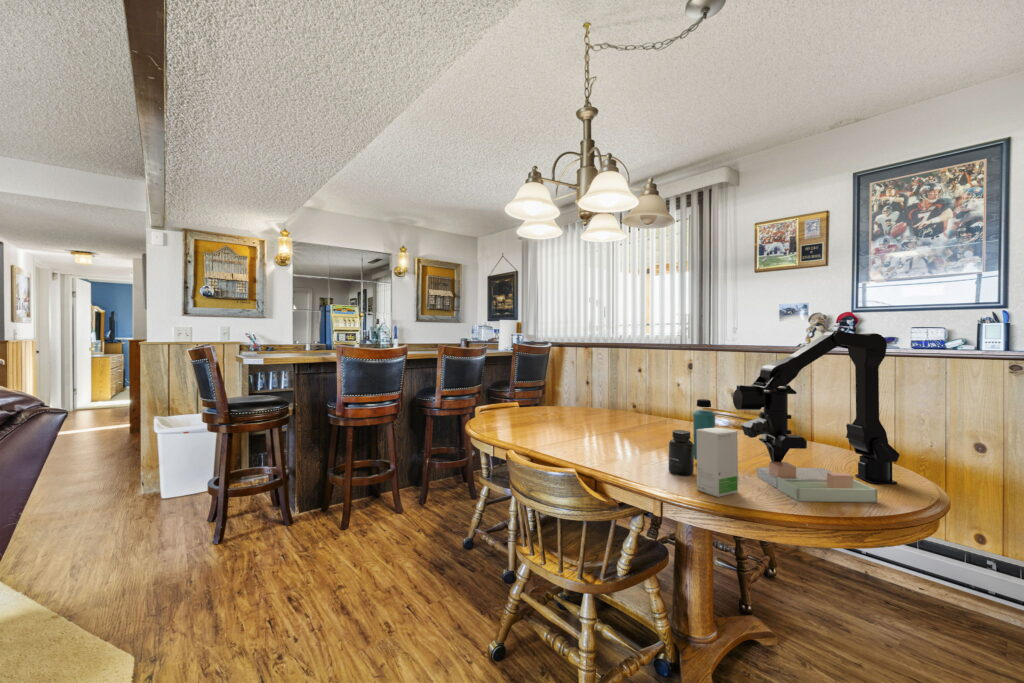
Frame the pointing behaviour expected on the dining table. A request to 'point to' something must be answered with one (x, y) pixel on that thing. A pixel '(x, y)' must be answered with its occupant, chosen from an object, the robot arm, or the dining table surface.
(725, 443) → the skincare box
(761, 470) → the plate
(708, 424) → the beverage bottle
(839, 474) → the tile
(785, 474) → the tile
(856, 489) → the tray
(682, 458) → the supplement bottle
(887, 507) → the dining table surface
